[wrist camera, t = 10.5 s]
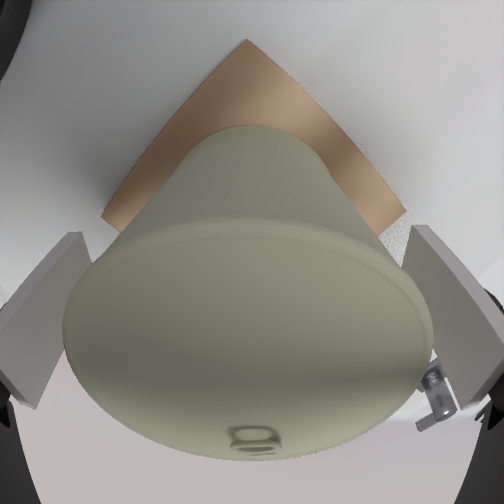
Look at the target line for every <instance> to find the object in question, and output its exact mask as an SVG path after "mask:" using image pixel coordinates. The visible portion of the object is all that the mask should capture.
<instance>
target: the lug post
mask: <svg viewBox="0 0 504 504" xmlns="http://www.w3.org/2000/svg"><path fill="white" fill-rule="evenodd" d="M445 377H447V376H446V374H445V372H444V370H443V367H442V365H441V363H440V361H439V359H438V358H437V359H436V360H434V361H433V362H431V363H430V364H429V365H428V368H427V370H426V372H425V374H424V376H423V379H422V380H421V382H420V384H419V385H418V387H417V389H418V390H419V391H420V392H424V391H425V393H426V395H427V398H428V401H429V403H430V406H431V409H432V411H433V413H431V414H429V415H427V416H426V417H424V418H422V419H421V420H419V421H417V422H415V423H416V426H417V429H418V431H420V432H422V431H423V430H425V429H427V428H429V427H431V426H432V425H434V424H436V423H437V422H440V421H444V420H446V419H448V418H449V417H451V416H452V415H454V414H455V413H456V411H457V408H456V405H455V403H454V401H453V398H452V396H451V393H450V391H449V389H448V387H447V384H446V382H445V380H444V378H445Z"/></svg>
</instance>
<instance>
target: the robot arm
mask: <svg viewBox="0 0 504 504" xmlns="http://www.w3.org/2000/svg"><path fill="white" fill-rule="evenodd" d="M30 4H31V0H0V79H1V77H2V75H3V73H4V72H5V70H6V68H7V66H8V64H9V62H10V59H11V57H12V55H13V53H14V51H15V48H16V46H17V43H18V41H19V38H20V36H21V33H22V30H23V28H24V25H25V22H26V18H27V15H28V12H29V8H30ZM91 264H92V263H91V260H90V257H89V253H88V250H87V247H86V244H85V241H84V237H83V234H82V232H70V233H67V234H66V235H65V236H64V237H63V238H62V239H61V240H60V241H59V242H58V243H57V244H56V246H55V247H54V248H53V249H52V250H51V251H50V252H49V253H48V254H47V255H46V256H45V257H44V259H43V260H42V261H41V262H40V263H39V264H38V265H37V266H36V268H35V269H34V270H33V271H32V272H31V273H30V275H29V276H28V277H27V278H26V279H25V280H24V282H23V283H22V284H21V285H20V287H19V288H18V289H17V290H16V291H15V293H14V294H13V295H12V297H11V298H10V299H9V300H8V302H7V303H5V304H4V306H3V307H2V308H1V309H0V504H41V502H40V500H39V497H38V494H37V492H36V489H35V486H34V484H33V481H32V478H31V475H30V472H29V469H28V465H27V462H26V459H25V455H24V452H23V448H22V444H21V440H20V436H19V432H18V428H17V423H16V418H15V414H14V408H13V405H12V403H11V402H10V401H9V400H8V399H9V397H10V395H11V394H12V395H13V397H15V399H16V400H17V401H18V402H19V403H20V404H21V405H24V406H27V407H29V408H32V409H36V408H37V405H38V403H39V401H40V399H41V396H42V394H43V392H44V390H45V387H46V385H47V383H48V381H49V379H50V377H51V375H52V372H53V371H54V368H55V366H56V364H57V362H58V360H59V358H60V356H61V354H62V353H63V351H64V344H63V335H62V322H63V316H64V310H65V307H66V304H67V301H68V298H69V295H70V294H71V292H72V290H73V288H74V286H75V284H76V282H77V281H78V280H79V278H80V277H81V276H82V274H83V273H84V272H85V271H86V270H87V268H88V267H89V266H90V265H91ZM401 268H402V269H403V270H404V271H405V272H406V273H407V274H408V275H409V277H410V278H411V279H412V280H413V281H414V283H415V284H416V286H417V287H418V288H419V290H420V291H421V293H422V295H423V297H424V299H425V301H426V303H427V306H428V309H429V312H430V315H431V319H432V324H433V337H434V339H433V349H434V351H435V353H436V355H437V357H438V359H439V361H440V363H441V365H442V367H443V370H444V372H445V374H446V376H447V378H448V381H449V383H450V385H451V387H452V390H453V392H454V394H455V397H456V399H457V401H458V404H459V406H460V409H461V410H464V409H467V408H470V407H472V406H475V405H478V404H479V403H480V402H481V401H482V400H483V398H484V397H485V396H486V395H487V394H489V396H490V398H491V400H490V401H489V402H488V403H487V405H486V406H485V407H484V408H483V409H482V410H481V411H480V412H479V413H478V414H477V416H476V418H475V420H476V421H477V420H478V419H479V418H480V417H481V416H482V415H483V414H484V413H485V414H484V418H483V419H482V420H481V423H482V427H481V430H480V434H479V437H478V440H477V444H476V447H475V450H474V454H473V456H472V459H471V462H470V465H469V468H468V471H467V474H466V476H465V479H464V482H463V484H462V486H461V489H460V491H459V494H458V496H457V498H456V501H455V503H454V504H504V309H503V306H502V305H501V304H500V302H499V301H498V300H497V299H496V297H495V296H493V295H492V294H491V293H490V292H488V291H487V290H486V289H485V288H484V289H483V287H482V286H481V285H480V284H479V282H478V281H477V280H476V279H475V277H474V276H473V275H472V274H471V273H470V271H469V270H468V269H467V268H466V267H465V266H464V264H463V263H462V262H461V261H460V260H459V259H458V258H457V256H456V255H455V254H454V253H453V252H452V251H451V250H450V249H449V248H448V246H447V245H446V244H445V243H444V242H443V241H442V240H441V239H440V238H439V237H438V236H437V235H436V234H435V233H434V232H433V231H432V230H431V228H430V227H429V226H428V225H412V226H411V231H410V235H409V239H408V243H407V247H406V251H405V255H404V259H403V263H402V267H401Z"/></svg>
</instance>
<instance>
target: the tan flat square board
mask: <svg viewBox="0 0 504 504" xmlns="http://www.w3.org/2000/svg"><path fill="white" fill-rule="evenodd" d="M247 125H257V126H266V127H272V128H276V129H279V130H282V131H284V132H287V133H289V134H291V135H293V136H295V137H297V138H298V139H300V140H301V141H303V142H304V143H306V144H307V145H308V146H309V147H311V148H312V149H313V150H314V151H315V152H316V153H317V154H318V156H319V157H320V158H321V160H322V161H323V162H324V164H325V165H326V167H327V169H328V171H329V173H330V175H331V177H332V178H333V179H334V181H335V182H336V183H337V185H338V186H339V187H340V188H341V190H342V191H343V192H344V193H345V195H346V196H347V197H348V199H349V200H350V201H351V203H352V204H353V205H354V206H355V208H356V209H357V210H358V212H359V213H360V214H361V216H362V217H363V218H364V220H365V221H366V222H367V224H368V225H369V226H370V227H371V229H372V230H373V231H374V233H375V234H376V236H379V235H380V234H381V233H382V232H383V231H384V230H386V229H387V228H388V227H389V226H390V225H391V224H393V223H394V222H395V221H396V220H397V219H398V218H399V217H401V216H402V215H403V214H404V213H405V212H406V210H405V208H404V207H403V206H402V204H401V203H400V201H399V200H398V199H397V197H396V196H395V194H394V193H393V192H392V190H391V189H390V188H389V186H388V185H387V184H386V182H385V181H384V180H383V179H382V177H381V176H380V175H379V173H378V172H377V171H376V170H375V168H374V167H373V166H372V165H371V163H370V162H369V161H368V160H367V158H366V157H365V156H364V155H363V153H362V152H361V151H360V150H359V149H358V148H357V146H356V145H355V144H354V143H353V142H352V140H351V139H350V138H349V137H348V136H347V135H346V134H345V132H344V131H343V130H342V129H341V128H340V127H339V126H338V125H337V124H336V122H335V121H334V120H333V119H332V118H331V117H330V116H329V115H328V114H327V113H326V112H325V111H324V110H323V109H322V107H321V106H320V105H319V104H318V103H317V102H316V101H315V100H314V99H313V98H312V97H311V96H310V95H309V94H308V93H307V92H306V91H305V90H304V89H303V88H302V87H301V86H300V85H299V84H298V83H297V82H296V81H294V80H293V79H292V78H291V77H290V76H289V75H288V74H287V73H286V72H285V71H284V70H283V69H282V68H280V67H279V66H278V65H277V64H276V63H275V62H274V61H273V60H272V59H270V58H269V57H268V56H267V55H266V54H265V53H264V52H262V51H261V50H260V49H259V48H258V47H256V46H255V45H254V44H253V43H252V42H250V41H249V40H248V39H247V40H245V41H244V42H243V43H242V44H241V45H240V46H239V47H238V48H237V49H236V50H235V51H234V52H233V53H232V54H231V55H230V56H229V57H228V58H227V59H226V60H225V61H224V62H223V63H222V64H221V65H220V66H219V67H218V68H217V69H216V70H215V71H214V72H213V73H212V74H211V75H210V76H209V77H208V78H207V79H206V80H205V81H204V82H203V83H202V84H201V85H200V86H199V88H198V89H197V90H196V91H195V92H194V93H193V94H192V95H191V96H190V98H189V99H188V100H187V101H186V102H185V103H184V104H183V106H182V107H181V108H180V109H179V110H178V111H177V112H176V114H175V115H174V116H173V117H172V118H171V120H170V121H169V122H168V123H167V124H166V126H165V127H164V128H163V129H162V131H161V132H160V133H159V134H158V136H157V137H156V138H155V139H154V141H153V142H152V143H151V145H150V146H149V147H148V149H147V150H146V151H145V153H144V154H143V155H142V157H141V158H140V159H139V161H138V162H137V163H136V165H135V166H134V167H133V169H132V170H131V172H130V173H129V174H128V176H127V177H126V179H125V180H124V182H123V183H122V185H121V186H120V187H119V189H118V190H117V192H116V193H115V195H114V196H113V198H112V199H111V201H110V202H109V204H108V206H107V207H106V209H105V210H104V212H103V213H102V215H101V217H102V218H103V219H104V220H105V221H107V222H108V223H109V224H110V225H112V226H113V227H114V228H115V229H116V230H118V231H119V232H120V233H121V232H122V231H123V230H124V229H125V227H126V226H127V225H128V224H129V223H130V222H131V220H132V219H133V218H134V217H135V216H136V215H137V214H138V213H139V211H140V210H141V209H142V208H143V207H144V206H145V205H146V204H147V202H148V201H149V200H150V199H151V198H152V197H153V195H154V194H155V193H156V192H157V191H158V190H159V189H160V188H161V187H162V185H163V184H164V183H165V182H166V181H167V180H168V179H169V178H170V177H171V176H172V174H173V173H174V172H175V171H176V169H177V167H178V166H179V164H180V163H181V161H182V160H183V158H184V157H185V156H186V155H187V153H188V152H189V151H190V150H191V149H192V148H193V147H195V146H196V145H197V144H198V143H199V142H201V141H202V140H204V139H205V138H207V137H209V136H211V135H213V134H215V133H217V132H219V131H222V130H225V129H228V128H232V127H238V126H247Z"/></svg>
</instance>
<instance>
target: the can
mask: <svg viewBox="0 0 504 504" xmlns="http://www.w3.org/2000/svg"><path fill="white" fill-rule="evenodd" d="M62 335H63V344H64V349H65V352H66V356H67V359H68V362H69V363H70V366H71V368H72V370H73V372H74V374H75V376H76V377H77V379H78V381H79V383H80V384H81V385H82V387H83V388H84V389H85V391H86V392H87V393H88V394H89V395H90V397H91V398H92V399H93V400H94V401H95V402H96V403H97V404H98V405H99V406H100V407H101V408H102V409H103V410H105V411H106V412H107V413H108V414H110V415H111V416H112V417H113V418H115V419H116V420H117V421H119V422H120V423H122V424H123V425H125V426H126V427H128V428H130V429H131V430H133V431H135V432H136V433H138V434H140V435H142V436H144V437H146V438H148V439H151V440H153V441H155V442H157V443H160V444H162V445H165V446H167V447H170V448H173V449H176V450H180V451H183V452H187V453H191V454H195V455H199V456H205V457H210V458H216V459H224V460H234V461H270V460H281V459H288V458H296V457H301V456H306V455H310V454H314V453H318V452H321V451H325V450H328V449H331V448H334V447H336V446H339V445H342V444H344V443H346V442H349V441H351V440H353V439H355V438H357V437H359V436H361V435H363V434H365V433H367V432H368V431H370V430H372V429H373V428H375V427H377V426H378V425H379V424H381V423H382V422H384V421H385V420H386V419H388V418H389V417H390V416H392V415H393V414H394V413H395V412H396V411H397V410H398V409H399V408H400V407H401V406H402V405H403V404H404V403H405V402H406V401H407V400H408V399H409V397H410V396H411V395H412V394H413V393H414V391H415V390H416V388H417V387H418V385H419V384H420V382H421V380H422V379H423V376H424V374H425V372H426V370H427V368H428V365H429V362H430V359H431V354H432V348H433V339H434V337H433V324H432V319H431V315H430V312H429V309H428V306H427V303H426V301H425V299H424V297H423V295H422V293H421V291H420V290H419V288H418V287H417V286H416V284H415V283H414V281H413V280H412V279H411V278H410V277H409V275H408V274H407V273H406V272H405V271H404V270H403V269H402V268H401V267H400V266H399V265H398V264H397V263H396V261H395V260H394V259H393V257H392V256H391V255H390V253H389V252H388V251H387V249H386V248H385V246H384V245H383V244H382V242H381V241H380V240H379V238H378V237H377V236H376V234H375V233H374V231H373V230H372V229H371V227H370V226H369V225H368V224H367V222H366V221H365V220H364V218H363V217H362V216H361V214H360V213H359V212H358V210H357V209H356V208H355V206H354V205H353V204H352V203H351V201H350V200H349V199H348V197H347V196H346V195H345V193H344V192H343V191H342V190H341V188H340V187H339V186H338V185H337V183H336V182H335V181H334V179H333V178H332V177H331V175H330V173H329V171H328V169H327V167H326V165H325V164H324V162H323V161H322V160H321V158H320V157H319V156H318V154H317V153H316V152H315V151H314V150H313V149H312V148H311V147H309V146H308V145H307V144H306V143H304V142H303V141H301V140H300V139H298V138H297V137H295V136H293V135H291V134H289V133H287V132H284V131H282V130H279V129H276V128H272V127H266V126H257V125H247V126H238V127H232V128H228V129H225V130H222V131H219V132H217V133H215V134H213V135H211V136H209V137H207V138H205V139H204V140H202V141H201V142H199V143H198V144H197V145H196V146H195V147H193V148H192V149H191V150H190V151H189V152H188V153H187V155H186V156H185V157H184V158H183V160H182V161H181V163H180V164H179V166H178V167H177V169H176V171H175V172H174V173H173V174H172V176H171V177H170V178H169V179H168V180H167V181H166V182H165V183H164V184H163V185H162V187H161V188H160V189H159V190H158V191H157V192H156V193H155V194H154V195H153V197H152V198H151V199H150V200H149V201H148V202H147V204H146V205H145V206H144V207H143V208H142V209H141V210H140V211H139V213H138V214H137V215H136V216H135V217H134V218H133V219H132V220H131V222H130V223H129V224H128V225H127V226H126V227H125V229H124V230H123V231H122V232H121V233H120V234H119V236H118V237H117V238H116V239H115V240H114V242H113V243H112V244H111V245H110V246H109V248H108V249H107V250H106V251H105V252H104V253H103V255H102V256H100V257H99V258H98V259H97V260H96V261H94V262H93V263H92V264H91V265H90V266H89V267H88V268H87V270H86V271H85V272H84V273H83V274H82V276H81V277H80V278H79V280H78V281H77V282H76V284H75V286H74V288H73V290H72V292H71V294H70V295H69V298H68V301H67V304H66V307H65V310H64V316H63V322H62Z"/></svg>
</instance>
